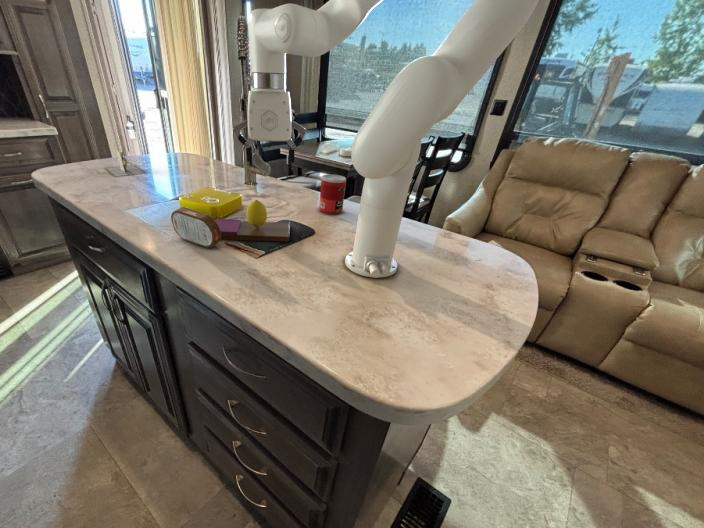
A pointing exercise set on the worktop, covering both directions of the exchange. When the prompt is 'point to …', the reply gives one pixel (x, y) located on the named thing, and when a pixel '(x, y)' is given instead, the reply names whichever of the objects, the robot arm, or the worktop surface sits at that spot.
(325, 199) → the canned food
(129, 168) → the architectural model
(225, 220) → the plum cloth
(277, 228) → the serving board
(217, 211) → the element tile
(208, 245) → the tin
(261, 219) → the lemon
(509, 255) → the worktop surface
